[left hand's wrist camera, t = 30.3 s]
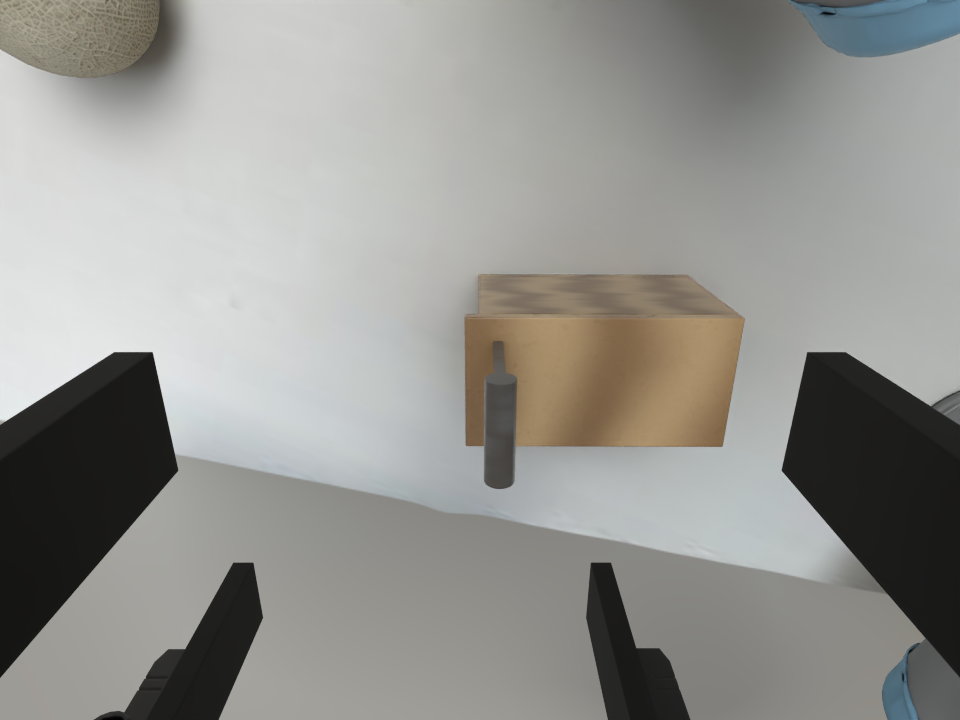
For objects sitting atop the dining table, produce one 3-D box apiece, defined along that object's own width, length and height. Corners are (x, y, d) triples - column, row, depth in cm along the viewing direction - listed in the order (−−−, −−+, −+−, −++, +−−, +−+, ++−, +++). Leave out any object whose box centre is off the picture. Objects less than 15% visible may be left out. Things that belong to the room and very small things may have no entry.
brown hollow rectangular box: (478, 380, 54) (478, 440, 44) (478, 274, 50) (478, 313, 40) (673, 380, 54) (718, 440, 44) (687, 274, 50) (739, 314, 40)
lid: (466, 440, 44) (462, 509, 36) (465, 313, 40) (461, 360, 32) (718, 441, 44) (769, 510, 36) (740, 314, 40) (802, 361, 32)
